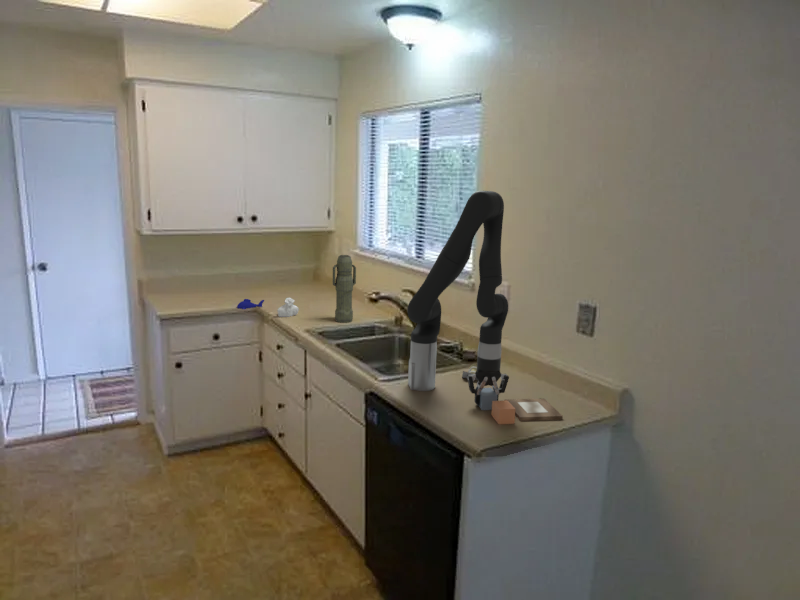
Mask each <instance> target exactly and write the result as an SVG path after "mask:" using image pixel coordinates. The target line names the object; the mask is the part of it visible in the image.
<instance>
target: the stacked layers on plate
mask: <svg viewBox="0 0 800 600" xmlns="http://www.w3.org/2000/svg"><path fill="white" fill-rule="evenodd" d="M476 371H477V363H472V364H471V365H470V366H469V367H468V371H464V370H462V375H461V379H462V378H464V379H467V375H468V374H470V375H472V374H475V373H476ZM474 381H478V379H477V378H475V380H474Z"/></svg>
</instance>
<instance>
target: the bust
mask: <svg viewBox="0 0 800 600" xmlns="http://www.w3.org/2000/svg"><path fill="white" fill-rule="evenodd" d="M295 302H296V300H295V299H294V298H292V297H286V298H285V300H284V304H283V305H281V306H279V307H278V308H277V315H278V317H279V318H290V316H291V317H294V316H297V315H298V313H299V311H300V308H299V307H298V306H297V305H295V304H294V303H295ZM293 315H294V316H293Z"/></svg>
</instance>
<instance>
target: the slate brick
mask: <svg viewBox="0 0 800 600" xmlns="http://www.w3.org/2000/svg"><path fill="white" fill-rule="evenodd" d="M497 397H498V395H497V394H496V393H495V392H494V390H493V387H484V388H483V389H482V391H481V393H480V406H478V407H479V409H480V410H481V411H492V401H497ZM498 398H499V397H498Z"/></svg>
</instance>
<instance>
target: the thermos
mask: <svg viewBox="0 0 800 600" xmlns="http://www.w3.org/2000/svg"><path fill="white" fill-rule="evenodd" d="M356 284H357V267H356V266H355V264H353V260H352V256H351V255H347V254H340V255H339V256H338V258H337V260H336V263H335V264H334V265H333V266H332V286H335V292H336V293H335V295H336V297H335V300H336V301H335V302H336V304H335V306H336V307H335V310H334V319H335V322H337V323H341V324H349V323H352V322H353V319H354V317H353V316H354V311H353V307H352V306H353V292H354V291H353V290H354V286H355V285H356Z"/></svg>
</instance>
